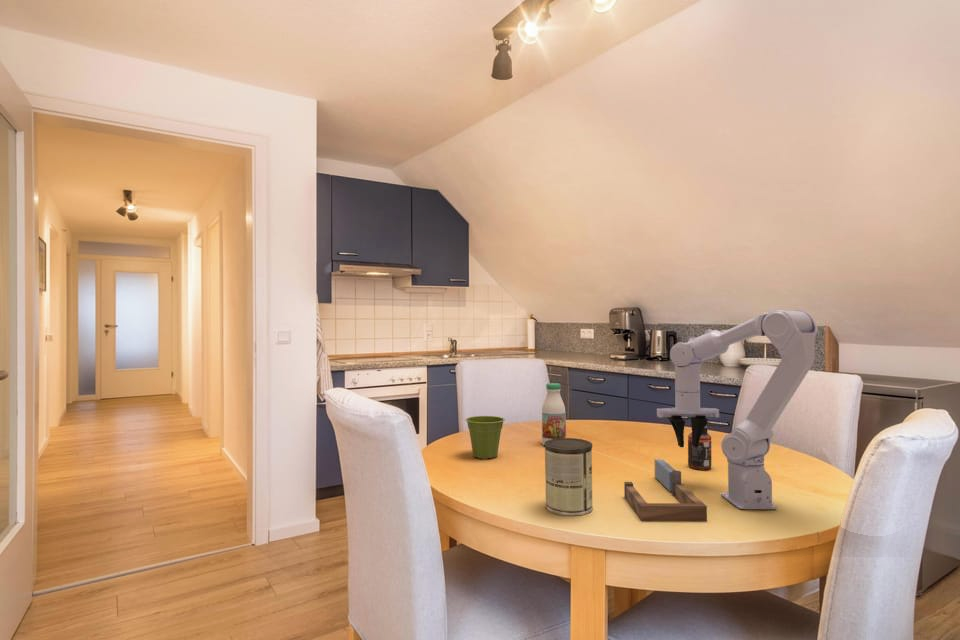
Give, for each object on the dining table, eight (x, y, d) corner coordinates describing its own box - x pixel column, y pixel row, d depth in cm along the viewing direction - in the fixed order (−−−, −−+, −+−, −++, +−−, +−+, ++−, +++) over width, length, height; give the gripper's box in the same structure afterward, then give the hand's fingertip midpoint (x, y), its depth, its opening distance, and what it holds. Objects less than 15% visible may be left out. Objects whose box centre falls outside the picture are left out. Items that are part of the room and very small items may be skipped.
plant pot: (511, 459, 156) (511, 420, 156) (474, 463, 152) (473, 424, 152) (495, 450, 167) (495, 414, 167) (460, 453, 163) (459, 417, 163)
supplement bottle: (713, 471, 142) (713, 428, 142) (690, 470, 144) (690, 428, 144) (708, 465, 148) (708, 424, 148) (686, 464, 149) (686, 423, 149)
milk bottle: (537, 443, 175) (537, 383, 175) (557, 441, 178) (556, 381, 178) (550, 449, 168) (549, 385, 168) (570, 446, 171) (570, 384, 171)
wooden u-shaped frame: (707, 520, 108) (707, 493, 108) (641, 520, 108) (641, 493, 108) (679, 493, 124) (679, 470, 124) (622, 493, 125) (622, 470, 125)
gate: (678, 491, 125) (677, 472, 125) (669, 491, 125) (669, 472, 125) (662, 476, 137) (662, 458, 137) (654, 476, 137) (654, 458, 137)
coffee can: (541, 499, 121) (541, 438, 121) (586, 499, 121) (586, 437, 121) (549, 516, 111) (548, 449, 111) (598, 515, 111) (597, 448, 111)
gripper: (710, 388, 135) (711, 442, 135) (653, 389, 135) (653, 442, 135) (722, 392, 128) (723, 449, 128) (661, 393, 128) (662, 449, 128)
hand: (687, 446), depth 131 cm, fingers open, 3 cm apart
